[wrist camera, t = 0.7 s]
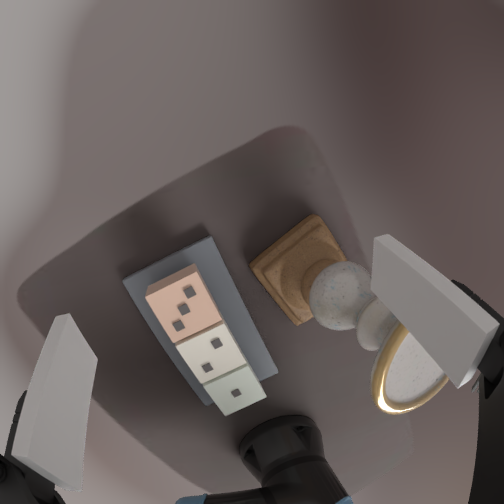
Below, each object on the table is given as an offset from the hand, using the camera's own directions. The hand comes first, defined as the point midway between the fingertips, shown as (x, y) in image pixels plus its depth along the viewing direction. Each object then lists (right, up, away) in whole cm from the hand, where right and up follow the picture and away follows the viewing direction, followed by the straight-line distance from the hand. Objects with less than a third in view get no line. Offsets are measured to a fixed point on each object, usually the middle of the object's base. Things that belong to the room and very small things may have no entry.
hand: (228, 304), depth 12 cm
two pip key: (-4, -9, +23) cm, 25 cm away
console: (-5, -8, +26) cm, 28 cm away
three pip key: (-7, -3, +21) cm, 23 cm away
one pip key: (-2, -14, +25) cm, 29 cm away
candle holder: (+8, 0, +28) cm, 29 cm away
